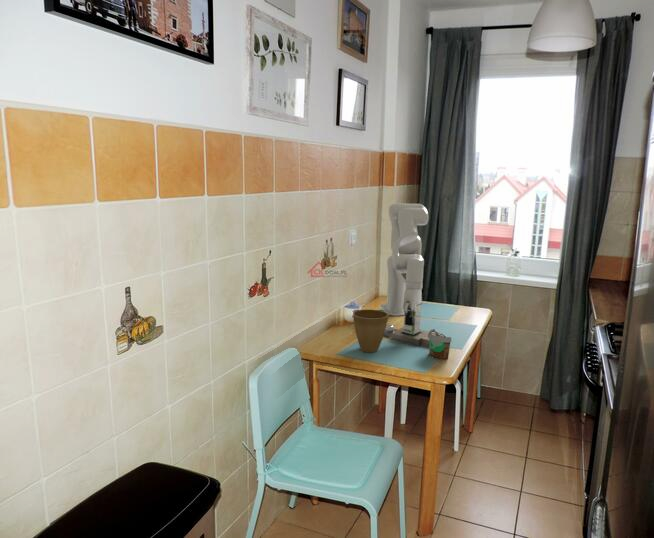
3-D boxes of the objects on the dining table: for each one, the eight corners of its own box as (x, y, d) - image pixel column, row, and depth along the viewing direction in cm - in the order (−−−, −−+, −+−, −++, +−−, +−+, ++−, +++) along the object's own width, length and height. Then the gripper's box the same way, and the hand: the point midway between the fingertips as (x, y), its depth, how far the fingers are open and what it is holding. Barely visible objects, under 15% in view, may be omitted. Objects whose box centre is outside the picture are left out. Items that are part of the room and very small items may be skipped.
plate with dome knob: (377, 336, 240) (377, 328, 239) (390, 329, 251) (391, 321, 250) (417, 346, 229) (418, 337, 228) (430, 338, 239) (431, 329, 239)
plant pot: (393, 350, 223) (395, 314, 220) (370, 358, 213) (372, 320, 210) (367, 341, 233) (369, 306, 230) (344, 348, 223) (345, 312, 220)
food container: (420, 352, 221) (421, 329, 219) (432, 350, 223) (434, 328, 221) (437, 362, 210) (439, 339, 208) (450, 360, 212) (451, 337, 210)
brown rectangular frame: (390, 339, 236) (391, 331, 235) (404, 332, 247) (404, 324, 246) (433, 349, 224) (433, 340, 224) (445, 341, 235) (446, 333, 235)
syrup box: (402, 332, 237) (404, 301, 234) (409, 329, 241) (411, 299, 238) (413, 334, 233) (414, 303, 230) (420, 332, 237) (422, 301, 235)
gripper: (414, 280, 242) (412, 317, 245) (397, 287, 228) (395, 326, 232) (429, 282, 238) (427, 320, 241) (413, 289, 224) (410, 329, 227)
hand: (411, 322), depth 236 cm, fingers closed on syrup box, 6 cm apart
